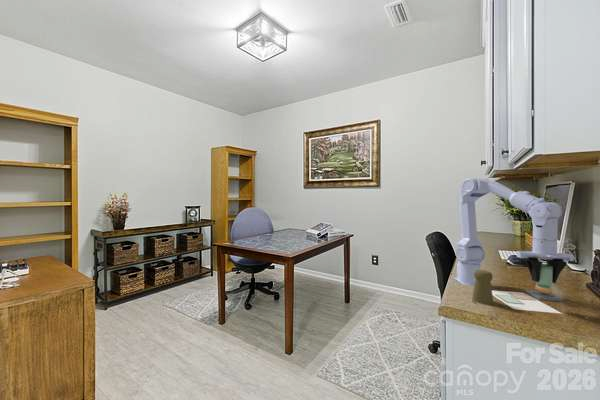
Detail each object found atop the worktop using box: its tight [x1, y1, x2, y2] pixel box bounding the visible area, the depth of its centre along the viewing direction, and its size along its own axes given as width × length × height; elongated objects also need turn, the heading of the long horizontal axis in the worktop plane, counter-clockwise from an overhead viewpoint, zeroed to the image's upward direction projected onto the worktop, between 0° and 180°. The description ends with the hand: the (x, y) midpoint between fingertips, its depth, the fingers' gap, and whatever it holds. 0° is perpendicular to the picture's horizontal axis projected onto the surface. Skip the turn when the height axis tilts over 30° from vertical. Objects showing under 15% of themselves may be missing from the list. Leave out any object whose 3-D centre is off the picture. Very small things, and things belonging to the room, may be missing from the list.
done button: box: [534, 283, 553, 294], centre depth 91 cm, size 4×4×2 cm
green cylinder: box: [534, 263, 554, 288], centre depth 82 cm, size 4×4×7 cm
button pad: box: [525, 289, 564, 303], centre depth 91 cm, size 7×7×2 cm
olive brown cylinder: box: [471, 269, 494, 306], centre depth 86 cm, size 6×6×11 cm
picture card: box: [492, 289, 563, 315], centre depth 87 cm, size 18×13×1 cm
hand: (543, 281), depth 82 cm, fingers closed on green cylinder, 4 cm apart
